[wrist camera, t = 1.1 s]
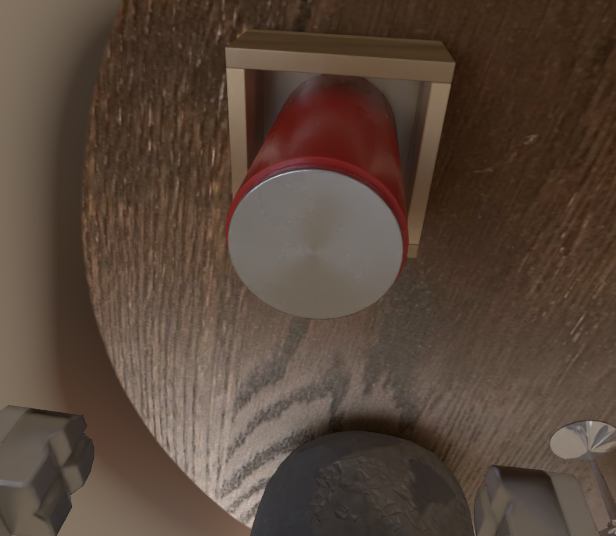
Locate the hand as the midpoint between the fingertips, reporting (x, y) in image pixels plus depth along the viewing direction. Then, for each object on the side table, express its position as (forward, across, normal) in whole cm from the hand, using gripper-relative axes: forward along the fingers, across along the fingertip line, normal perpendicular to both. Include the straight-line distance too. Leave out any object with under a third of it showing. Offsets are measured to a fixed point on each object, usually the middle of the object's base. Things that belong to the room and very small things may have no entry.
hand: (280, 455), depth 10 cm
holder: (+20, 0, 0) cm, 20 cm away
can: (+19, 0, 0) cm, 19 cm away
